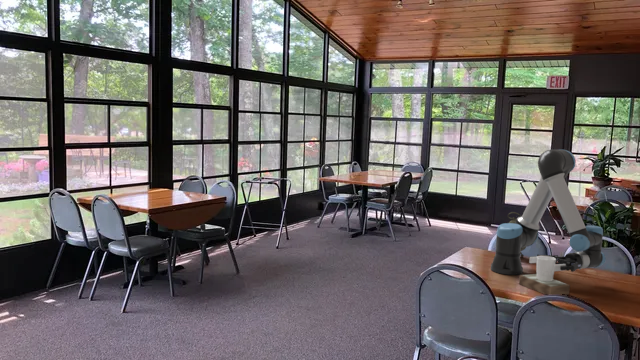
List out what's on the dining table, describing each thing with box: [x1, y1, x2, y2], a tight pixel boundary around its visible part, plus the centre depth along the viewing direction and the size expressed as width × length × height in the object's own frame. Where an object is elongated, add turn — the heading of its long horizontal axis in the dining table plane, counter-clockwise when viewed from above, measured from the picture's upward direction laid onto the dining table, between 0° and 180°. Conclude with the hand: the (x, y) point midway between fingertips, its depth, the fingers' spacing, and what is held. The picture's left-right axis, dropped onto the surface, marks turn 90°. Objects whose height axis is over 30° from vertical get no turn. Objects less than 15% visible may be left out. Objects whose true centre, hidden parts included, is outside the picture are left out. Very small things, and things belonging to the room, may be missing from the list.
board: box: [518, 273, 571, 295], centre depth 232 cm, size 18×11×4 cm, turn 24°
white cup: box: [535, 255, 556, 282], centre depth 231 cm, size 8×8×10 cm
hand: (541, 264), depth 230 cm, fingers open, 13 cm apart
